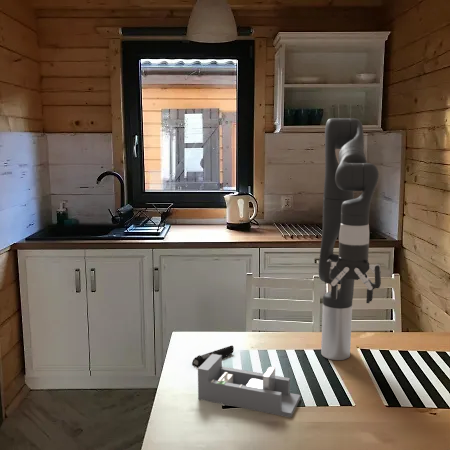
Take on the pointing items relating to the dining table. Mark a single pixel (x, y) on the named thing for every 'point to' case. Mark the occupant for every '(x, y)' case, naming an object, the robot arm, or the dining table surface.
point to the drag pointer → (226, 378)
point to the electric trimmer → (224, 352)
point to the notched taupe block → (264, 380)
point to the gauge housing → (244, 389)
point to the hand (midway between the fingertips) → (351, 300)
